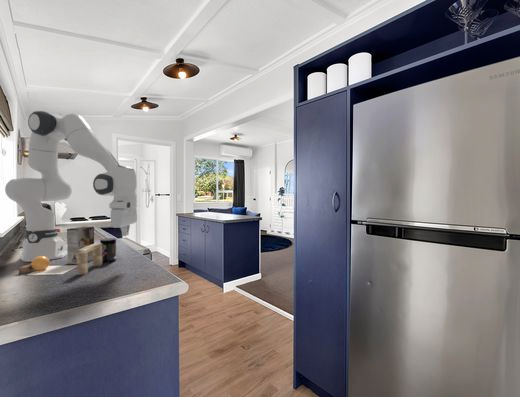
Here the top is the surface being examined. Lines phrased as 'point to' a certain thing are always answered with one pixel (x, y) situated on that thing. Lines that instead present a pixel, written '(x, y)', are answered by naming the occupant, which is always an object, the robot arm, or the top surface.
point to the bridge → (83, 257)
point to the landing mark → (54, 270)
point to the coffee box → (79, 242)
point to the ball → (40, 263)
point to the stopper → (25, 269)
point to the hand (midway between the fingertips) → (125, 235)
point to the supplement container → (108, 249)
